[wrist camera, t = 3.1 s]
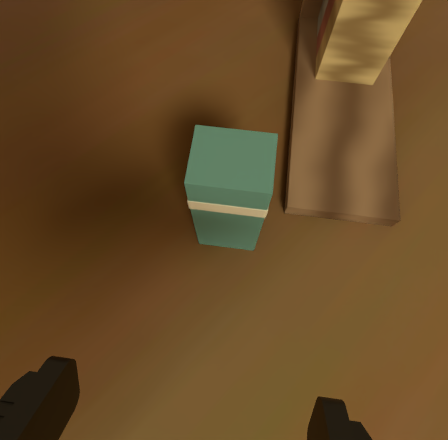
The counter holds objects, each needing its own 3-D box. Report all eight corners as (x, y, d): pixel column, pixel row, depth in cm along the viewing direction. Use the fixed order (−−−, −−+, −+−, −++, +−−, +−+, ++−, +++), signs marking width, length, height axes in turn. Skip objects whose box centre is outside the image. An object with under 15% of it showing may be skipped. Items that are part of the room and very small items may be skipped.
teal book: (198, 243, 30) (182, 184, 18) (205, 202, 31) (194, 123, 20) (254, 251, 29) (273, 195, 18) (258, 209, 31) (278, 133, 20)
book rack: (284, 212, 31) (359, 55, 14) (298, 19, 39) (354, -222, 23) (392, 226, 30) (606, 79, 13) (381, 27, 39) (502, -212, 22)
